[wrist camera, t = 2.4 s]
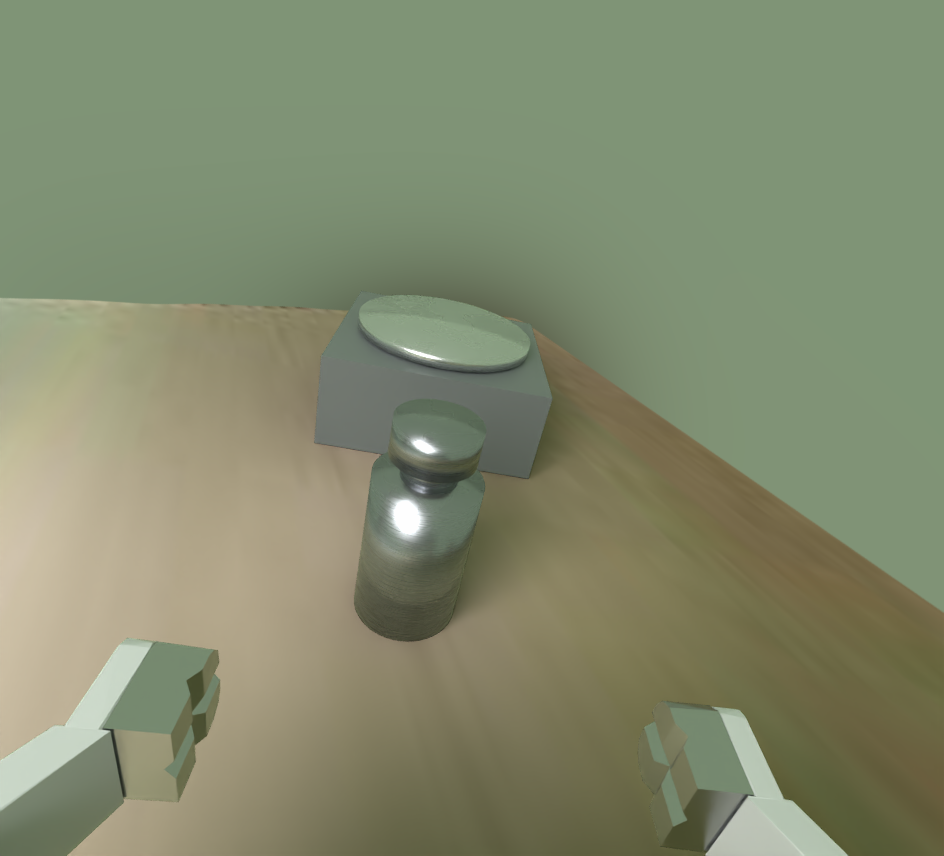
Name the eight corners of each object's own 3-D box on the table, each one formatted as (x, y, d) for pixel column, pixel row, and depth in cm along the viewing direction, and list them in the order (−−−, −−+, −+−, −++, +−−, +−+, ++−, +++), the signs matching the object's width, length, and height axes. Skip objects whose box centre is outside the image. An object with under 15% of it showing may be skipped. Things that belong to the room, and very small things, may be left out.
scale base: (314, 442, 36) (321, 355, 33) (355, 356, 49) (362, 289, 46) (528, 478, 37) (552, 398, 35) (513, 386, 50) (530, 321, 47)
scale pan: (342, 350, 34) (343, 337, 34) (372, 294, 45) (373, 284, 44) (535, 386, 35) (539, 374, 35) (520, 323, 46) (522, 314, 45)
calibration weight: (344, 633, 24) (371, 441, 19) (362, 558, 28) (388, 385, 23) (452, 648, 24) (502, 463, 20) (454, 572, 28) (496, 404, 24)
